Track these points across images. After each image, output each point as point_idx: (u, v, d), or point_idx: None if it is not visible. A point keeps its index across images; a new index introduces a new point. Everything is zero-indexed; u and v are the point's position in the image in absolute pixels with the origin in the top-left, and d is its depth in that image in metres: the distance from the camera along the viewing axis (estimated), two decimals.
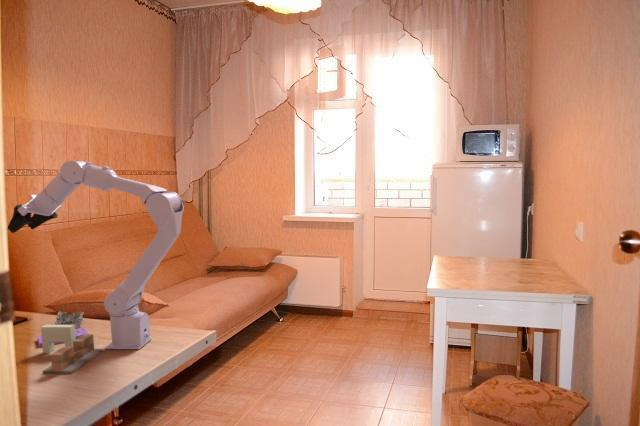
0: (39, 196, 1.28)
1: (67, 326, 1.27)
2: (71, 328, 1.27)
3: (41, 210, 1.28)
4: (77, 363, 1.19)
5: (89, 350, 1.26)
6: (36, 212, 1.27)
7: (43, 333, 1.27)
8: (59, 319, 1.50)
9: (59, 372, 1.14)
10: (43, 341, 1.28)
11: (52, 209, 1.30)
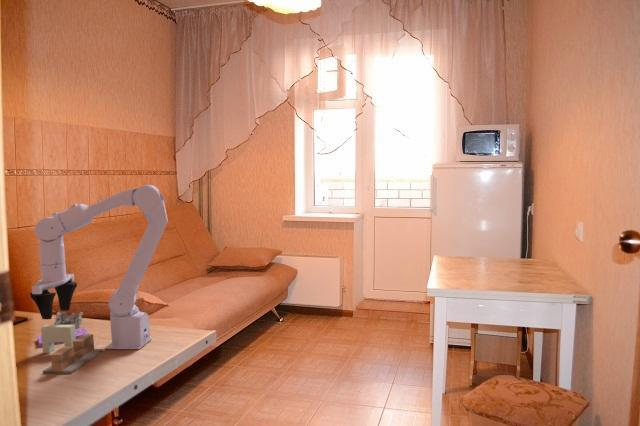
0: (42, 272, 1.24)
1: (67, 326, 1.27)
2: (71, 328, 1.27)
3: (53, 281, 1.24)
4: (77, 363, 1.19)
5: (89, 350, 1.26)
6: (50, 284, 1.22)
7: (43, 333, 1.27)
8: (58, 319, 1.50)
9: (59, 372, 1.14)
10: (43, 341, 1.28)
11: (61, 274, 1.26)
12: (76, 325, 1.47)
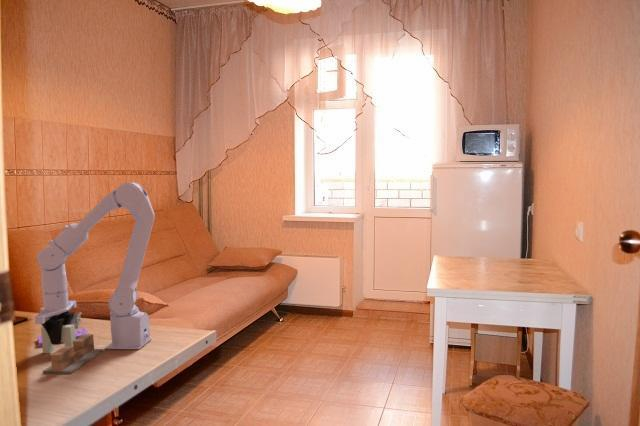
0: (44, 301, 1.25)
1: (67, 326, 1.27)
2: (71, 328, 1.27)
3: (56, 310, 1.25)
4: (77, 363, 1.19)
5: (89, 350, 1.26)
6: (52, 313, 1.23)
7: (43, 333, 1.27)
8: None
9: (59, 372, 1.14)
10: (43, 341, 1.28)
11: (64, 302, 1.26)
12: None
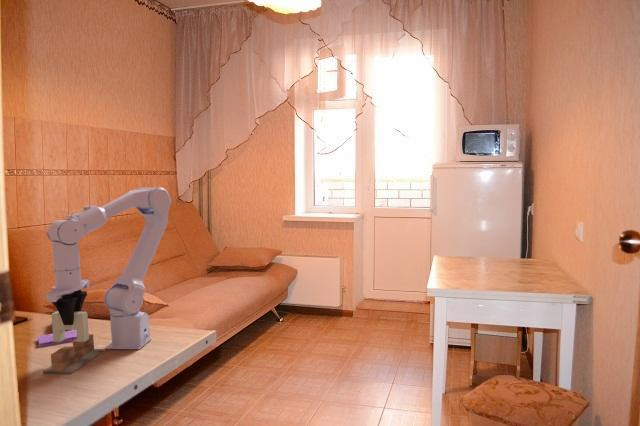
0: (56, 279, 1.17)
1: (79, 313, 1.20)
2: (83, 315, 1.19)
3: (68, 288, 1.17)
4: (77, 363, 1.19)
5: (89, 350, 1.26)
6: (65, 291, 1.15)
7: (54, 320, 1.20)
8: None
9: (59, 372, 1.14)
10: (54, 329, 1.20)
11: (77, 280, 1.19)
12: None
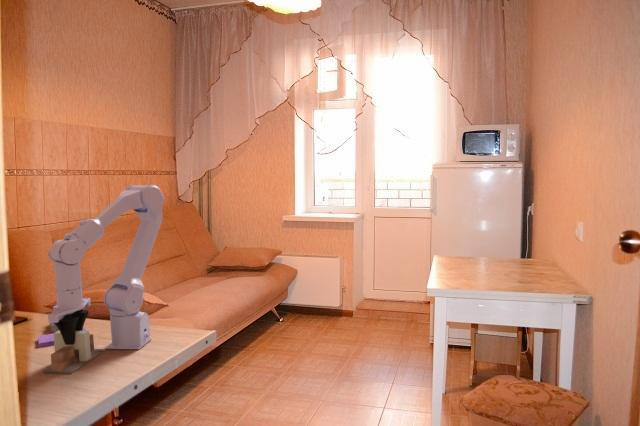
0: (58, 299, 1.18)
1: (81, 332, 1.20)
2: (85, 334, 1.20)
3: (70, 308, 1.17)
4: (77, 363, 1.19)
5: None
6: (66, 312, 1.16)
7: (56, 340, 1.20)
8: None
9: (59, 372, 1.14)
10: (56, 348, 1.20)
11: (78, 300, 1.19)
12: None
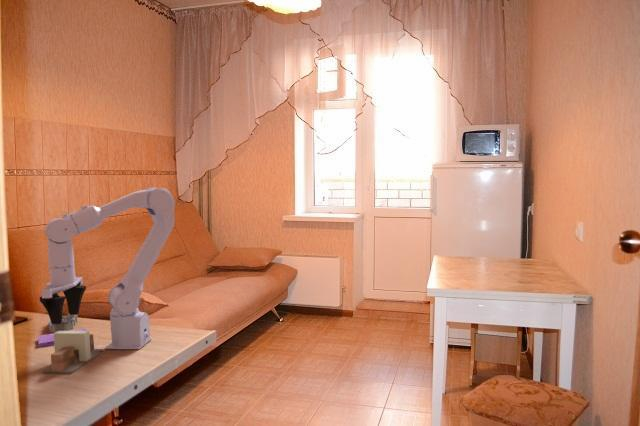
0: (51, 276, 1.21)
1: (81, 332, 1.20)
2: (85, 334, 1.20)
3: (63, 285, 1.21)
4: (77, 363, 1.19)
5: None
6: (59, 288, 1.19)
7: (56, 340, 1.20)
8: None
9: (59, 372, 1.14)
10: (56, 348, 1.20)
11: (71, 277, 1.22)
12: (70, 326, 1.47)
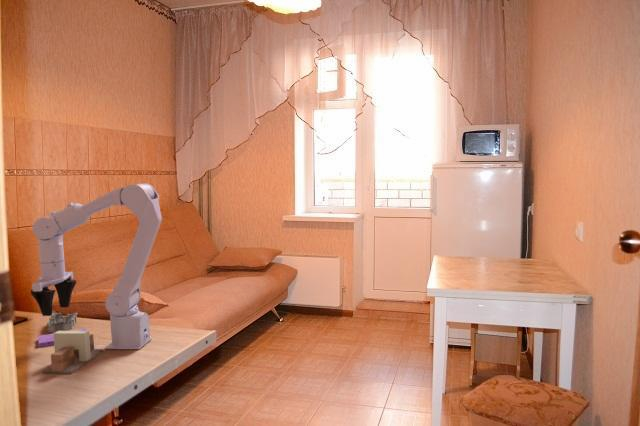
0: (42, 270, 1.28)
1: (81, 332, 1.20)
2: (85, 334, 1.20)
3: (53, 279, 1.28)
4: (77, 363, 1.19)
5: None
6: (49, 282, 1.26)
7: (56, 340, 1.20)
8: (52, 320, 1.50)
9: (59, 372, 1.14)
10: (56, 348, 1.20)
11: (61, 272, 1.29)
12: (68, 326, 1.47)
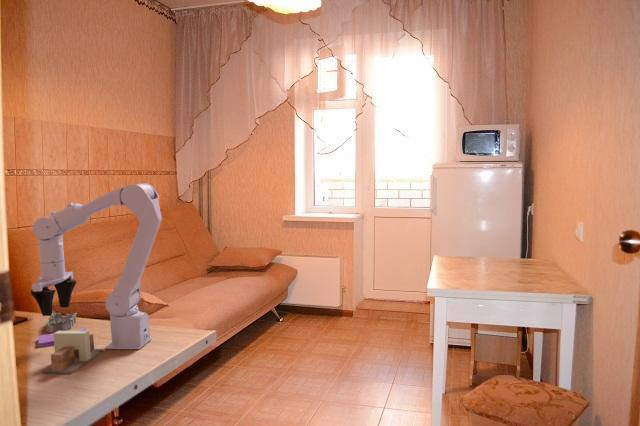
0: (42, 270, 1.28)
1: (81, 332, 1.20)
2: (85, 334, 1.20)
3: (53, 279, 1.28)
4: (77, 363, 1.19)
5: None
6: (49, 282, 1.26)
7: (56, 340, 1.20)
8: (52, 320, 1.50)
9: (59, 372, 1.14)
10: (56, 348, 1.20)
11: (61, 272, 1.29)
12: (68, 326, 1.47)
